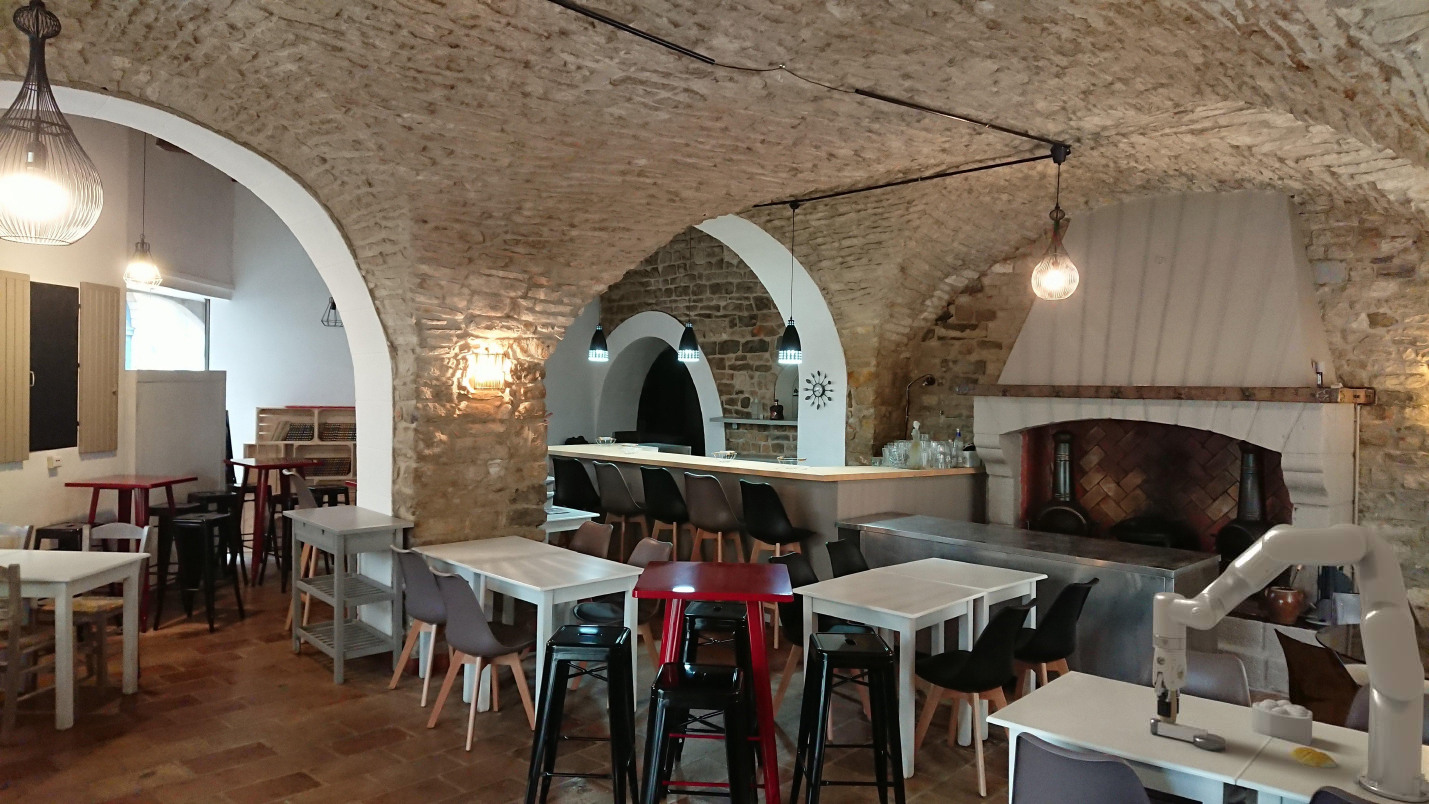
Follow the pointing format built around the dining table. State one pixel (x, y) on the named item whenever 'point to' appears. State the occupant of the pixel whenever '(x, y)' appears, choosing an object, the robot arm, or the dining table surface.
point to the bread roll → (1312, 757)
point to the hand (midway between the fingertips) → (1168, 713)
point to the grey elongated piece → (1188, 734)
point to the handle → (1172, 704)
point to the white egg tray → (1282, 721)
